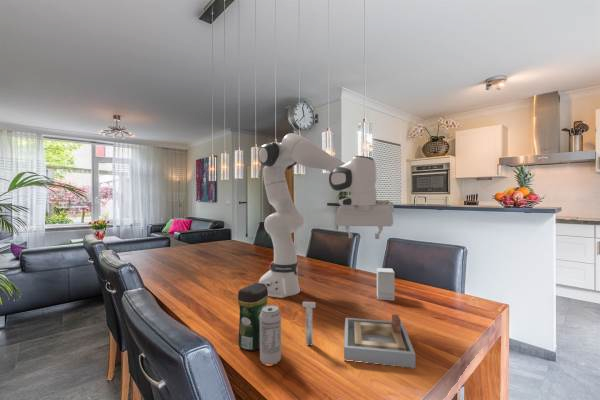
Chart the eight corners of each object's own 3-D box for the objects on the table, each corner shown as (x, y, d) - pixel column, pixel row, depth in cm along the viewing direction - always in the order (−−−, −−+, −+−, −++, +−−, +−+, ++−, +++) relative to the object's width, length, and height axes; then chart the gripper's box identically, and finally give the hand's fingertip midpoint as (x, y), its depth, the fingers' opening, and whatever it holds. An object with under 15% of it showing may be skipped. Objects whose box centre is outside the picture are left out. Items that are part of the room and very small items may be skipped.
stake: (302, 345, 86) (302, 303, 86) (303, 342, 88) (303, 301, 88) (315, 346, 85) (315, 304, 85) (315, 343, 87) (315, 301, 87)
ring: (355, 353, 80) (355, 329, 80) (354, 330, 93) (354, 309, 93) (405, 358, 77) (406, 333, 77) (397, 333, 91) (397, 312, 91)
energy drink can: (281, 354, 81) (281, 304, 81) (280, 367, 75) (280, 312, 75) (261, 355, 81) (260, 304, 81) (258, 367, 75) (258, 313, 75)
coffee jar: (252, 333, 93) (252, 279, 93) (272, 339, 90) (272, 282, 89) (233, 347, 85) (232, 287, 85) (254, 354, 81) (253, 292, 81)
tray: (344, 361, 78) (344, 347, 78) (345, 329, 96) (345, 317, 96) (415, 368, 74) (415, 353, 74) (402, 333, 93) (402, 322, 93)
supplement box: (394, 301, 122) (395, 272, 122) (377, 299, 123) (377, 271, 123) (392, 295, 129) (392, 268, 129) (376, 294, 131) (376, 267, 130)
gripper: (392, 200, 101) (392, 237, 101) (336, 200, 105) (336, 236, 105) (395, 200, 95) (395, 240, 95) (335, 200, 99) (335, 239, 99)
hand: (363, 238), depth 100 cm, fingers open, 8 cm apart
